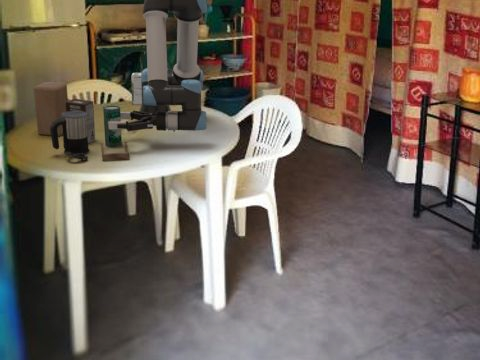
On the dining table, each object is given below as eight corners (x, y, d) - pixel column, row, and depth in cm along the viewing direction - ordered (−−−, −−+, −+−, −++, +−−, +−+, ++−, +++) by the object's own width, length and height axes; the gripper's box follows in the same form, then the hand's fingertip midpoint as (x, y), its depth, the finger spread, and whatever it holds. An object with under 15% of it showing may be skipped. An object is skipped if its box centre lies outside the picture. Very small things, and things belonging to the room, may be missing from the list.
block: (59, 136, 248) (55, 88, 241) (37, 134, 250) (32, 86, 242) (71, 130, 257) (67, 82, 250) (49, 128, 259) (44, 81, 251)
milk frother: (79, 146, 238) (76, 109, 232) (106, 155, 229) (104, 116, 224) (48, 155, 227) (44, 116, 222) (76, 165, 218) (73, 124, 213)
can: (114, 148, 236) (112, 110, 231) (102, 145, 239) (100, 107, 234) (124, 144, 241) (123, 107, 236) (113, 141, 244) (111, 104, 239)
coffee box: (67, 141, 243) (64, 101, 237) (76, 137, 248) (73, 98, 242) (87, 144, 240) (84, 104, 234) (96, 139, 246) (93, 100, 240)
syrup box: (132, 101, 303) (131, 72, 298) (144, 101, 304) (144, 72, 298) (131, 104, 298) (130, 75, 293) (144, 104, 298) (143, 75, 293)
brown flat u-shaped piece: (126, 148, 237) (126, 141, 236) (129, 159, 225) (129, 153, 224) (101, 149, 235) (101, 143, 234) (102, 161, 223) (102, 154, 222)
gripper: (164, 139, 228) (107, 139, 226) (168, 121, 251) (116, 120, 250) (164, 120, 225) (105, 119, 224) (168, 103, 248) (115, 102, 247)
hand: (111, 120), depth 237 cm, fingers open, 13 cm apart
